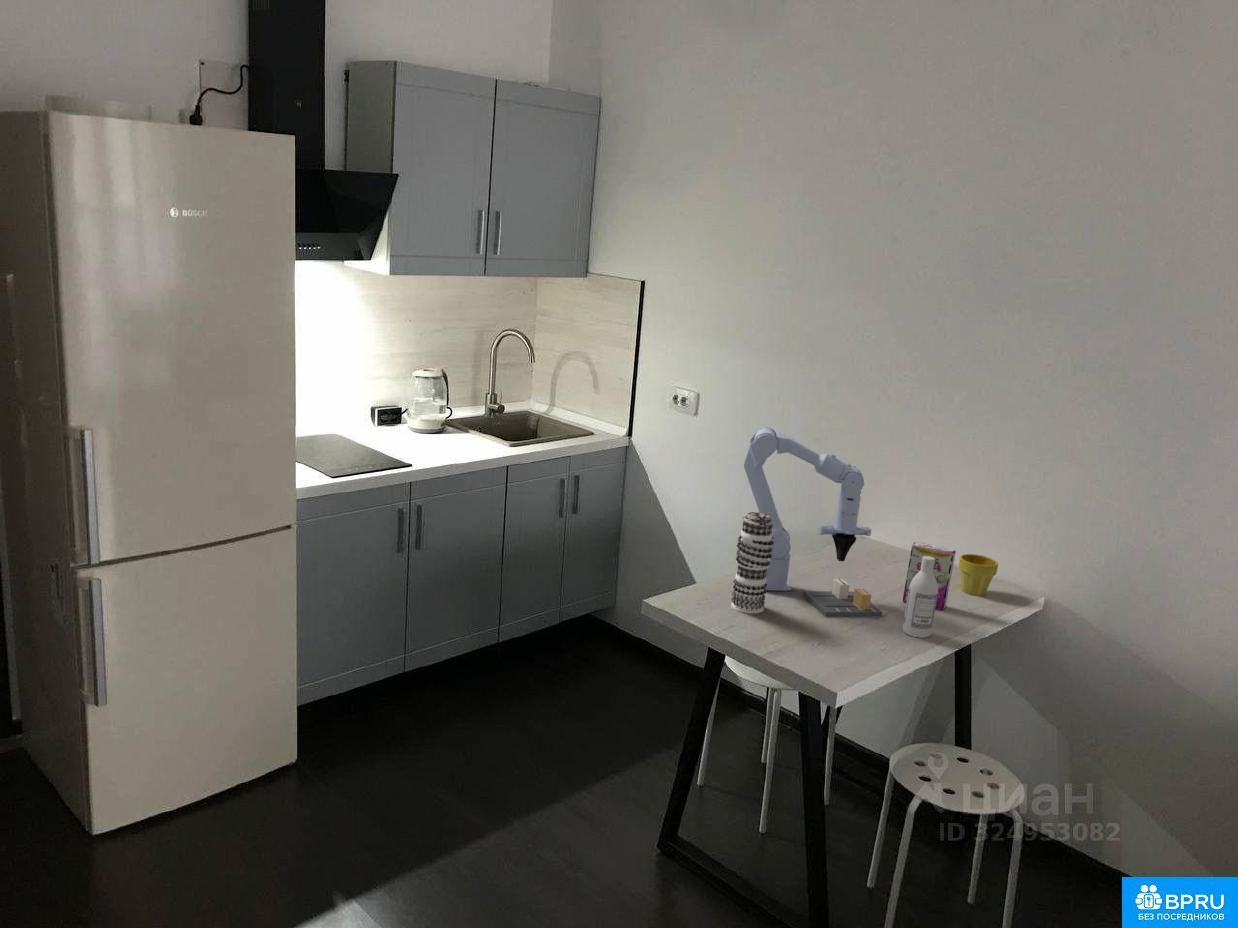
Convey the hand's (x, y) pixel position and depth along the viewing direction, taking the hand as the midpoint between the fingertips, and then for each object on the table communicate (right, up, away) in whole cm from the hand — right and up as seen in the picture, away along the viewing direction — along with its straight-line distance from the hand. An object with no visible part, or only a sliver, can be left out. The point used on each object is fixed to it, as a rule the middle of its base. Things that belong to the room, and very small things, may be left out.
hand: (840, 560), depth 281 cm
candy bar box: (+23, -12, +1) cm, 26 cm away
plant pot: (+41, -11, +15) cm, 45 cm away
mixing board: (-1, -12, -6) cm, 13 cm away
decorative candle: (-27, -11, -14) cm, 32 cm away
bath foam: (+15, -17, -21) cm, 31 cm away
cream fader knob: (-1, -9, -3) cm, 10 cm away
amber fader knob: (+3, -11, -9) cm, 15 cm away
